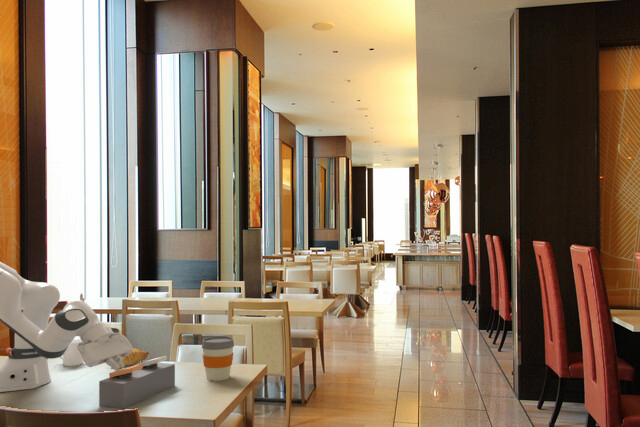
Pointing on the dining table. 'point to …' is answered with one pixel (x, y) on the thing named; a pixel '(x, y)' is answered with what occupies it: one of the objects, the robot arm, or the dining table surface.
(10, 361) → the robot arm
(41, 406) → the dining table surface
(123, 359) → the croissant
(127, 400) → the block
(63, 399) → the dining table surface
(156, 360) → the rocker grey
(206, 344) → the reusable coffee cup
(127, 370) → the rocker orange
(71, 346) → the cup
